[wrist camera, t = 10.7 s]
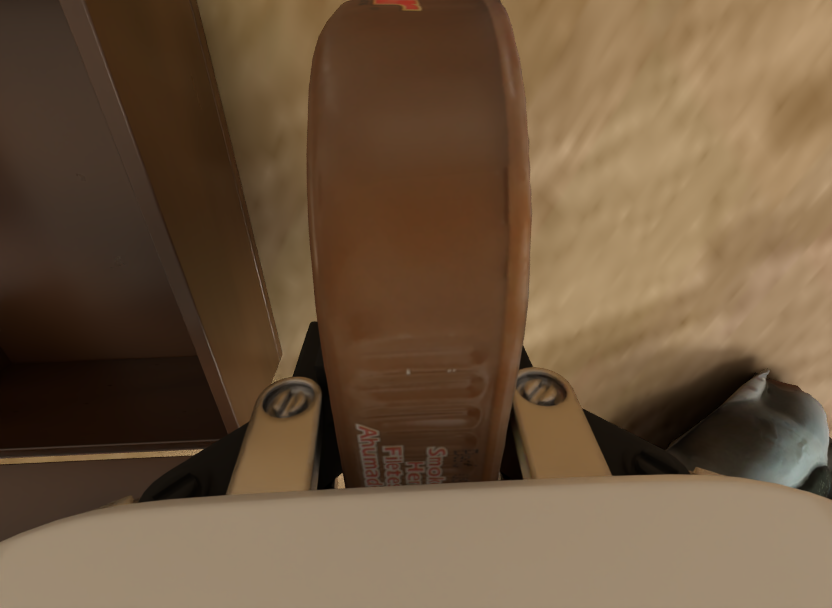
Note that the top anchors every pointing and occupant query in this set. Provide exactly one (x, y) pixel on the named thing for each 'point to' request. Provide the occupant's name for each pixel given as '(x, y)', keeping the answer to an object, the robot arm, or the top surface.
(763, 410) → the lucky cat figurine
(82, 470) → the lid
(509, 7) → the top surface
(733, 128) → the top surface
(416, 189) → the tin
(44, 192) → the chest
